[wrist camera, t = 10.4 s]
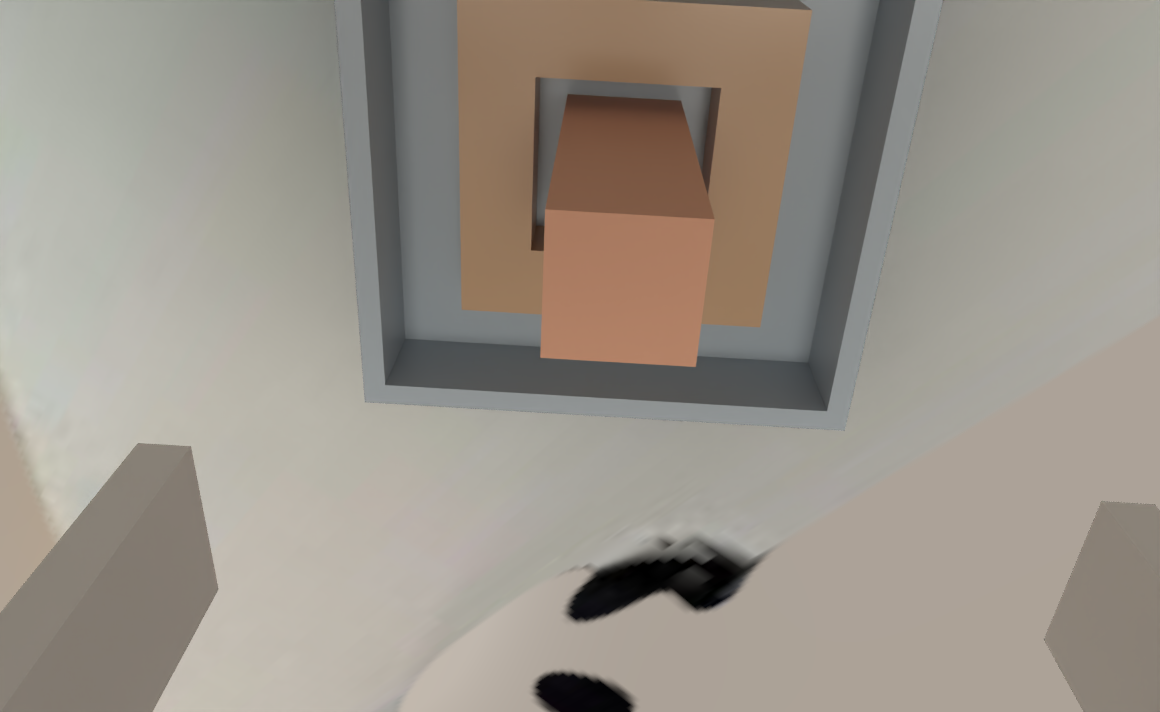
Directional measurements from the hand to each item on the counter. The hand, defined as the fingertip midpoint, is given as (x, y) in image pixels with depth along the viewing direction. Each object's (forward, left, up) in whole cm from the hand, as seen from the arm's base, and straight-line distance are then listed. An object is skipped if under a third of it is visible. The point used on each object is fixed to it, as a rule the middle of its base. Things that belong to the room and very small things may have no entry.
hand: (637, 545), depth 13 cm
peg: (0, 0, -22) cm, 22 cm away
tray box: (0, 0, -23) cm, 23 cm away
